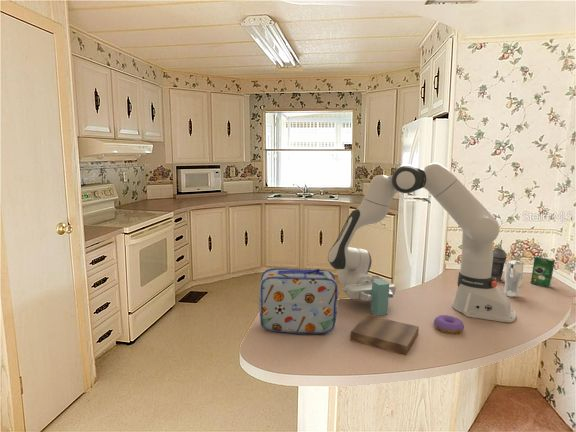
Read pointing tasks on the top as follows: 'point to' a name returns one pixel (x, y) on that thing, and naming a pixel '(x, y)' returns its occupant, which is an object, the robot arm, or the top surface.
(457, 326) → the donut
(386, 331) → the walnut riser
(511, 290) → the beer glass
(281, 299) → the lunch box
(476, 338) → the top surface
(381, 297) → the teal block
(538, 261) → the coffee box
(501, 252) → the beverage cup
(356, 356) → the top surface
